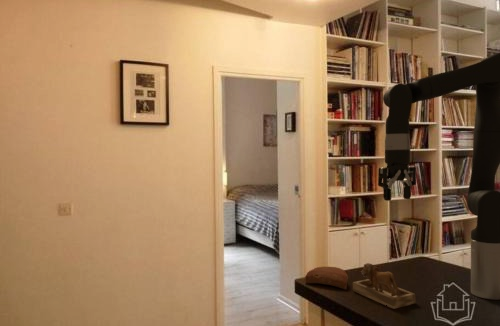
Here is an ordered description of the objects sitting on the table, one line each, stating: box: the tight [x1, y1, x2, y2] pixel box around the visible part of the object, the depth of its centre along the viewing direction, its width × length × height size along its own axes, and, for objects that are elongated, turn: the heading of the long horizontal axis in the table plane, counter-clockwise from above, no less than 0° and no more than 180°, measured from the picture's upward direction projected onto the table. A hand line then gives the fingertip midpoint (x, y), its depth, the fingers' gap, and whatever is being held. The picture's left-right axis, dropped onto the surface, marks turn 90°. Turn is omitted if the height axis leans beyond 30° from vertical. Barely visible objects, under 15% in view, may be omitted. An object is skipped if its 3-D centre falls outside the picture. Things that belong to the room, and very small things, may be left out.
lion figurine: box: [360, 262, 404, 296], centre depth 120 cm, size 15×5×9 cm, turn 30°
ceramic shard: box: [304, 266, 349, 290], centre depth 137 cm, size 15×6×15 cm
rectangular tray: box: [352, 278, 416, 310], centre depth 121 cm, size 9×17×3 cm, turn 27°
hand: (397, 199), depth 123 cm, fingers open, 8 cm apart
